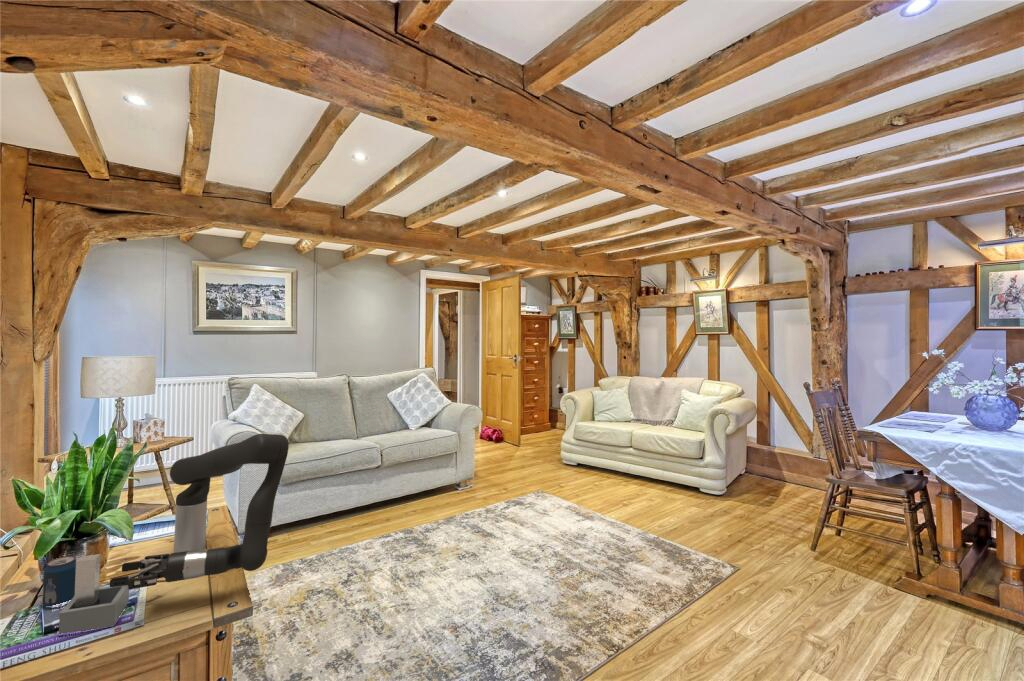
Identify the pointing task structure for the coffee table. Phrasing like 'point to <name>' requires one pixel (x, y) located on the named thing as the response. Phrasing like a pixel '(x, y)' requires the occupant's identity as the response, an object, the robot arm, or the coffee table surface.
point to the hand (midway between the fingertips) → (116, 575)
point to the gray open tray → (95, 611)
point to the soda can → (59, 580)
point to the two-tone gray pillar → (87, 581)
